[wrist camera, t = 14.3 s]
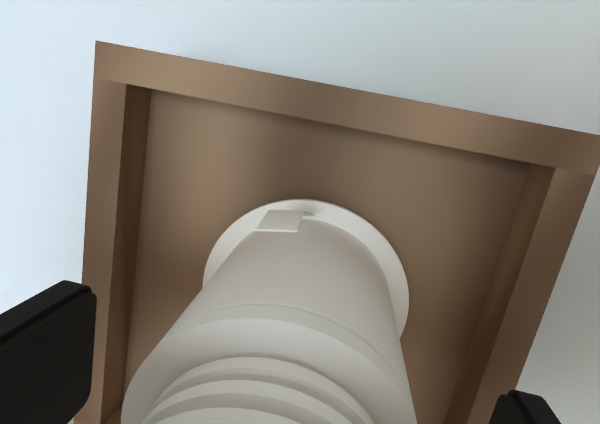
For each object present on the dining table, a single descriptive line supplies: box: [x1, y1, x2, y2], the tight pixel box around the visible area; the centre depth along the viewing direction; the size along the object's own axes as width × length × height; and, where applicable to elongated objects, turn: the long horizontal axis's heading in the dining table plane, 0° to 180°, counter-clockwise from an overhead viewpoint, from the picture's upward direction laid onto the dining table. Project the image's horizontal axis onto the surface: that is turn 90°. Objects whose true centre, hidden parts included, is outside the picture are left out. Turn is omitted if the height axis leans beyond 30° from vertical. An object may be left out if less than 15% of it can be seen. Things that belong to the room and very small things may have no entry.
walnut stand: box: [74, 41, 600, 424], centre depth 15 cm, size 14×14×6 cm
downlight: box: [121, 199, 417, 424], centre depth 9 cm, size 8×7×10 cm
